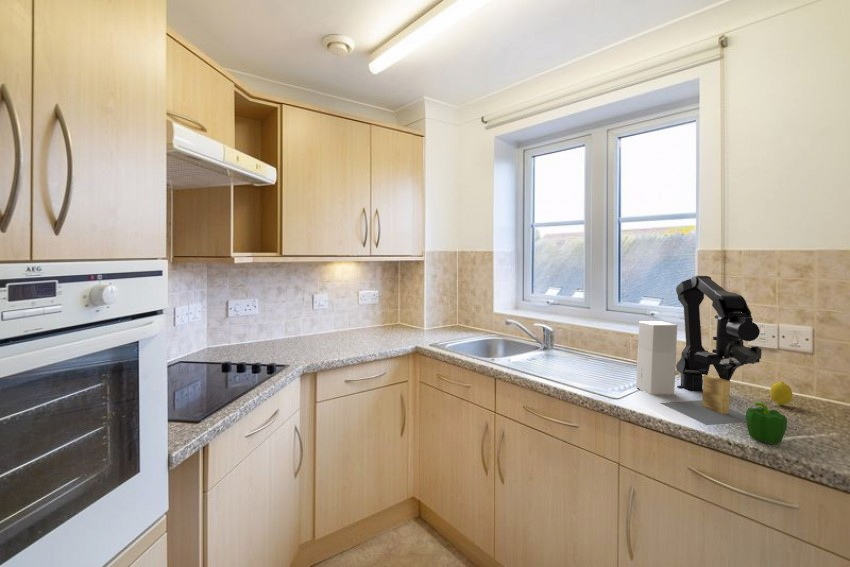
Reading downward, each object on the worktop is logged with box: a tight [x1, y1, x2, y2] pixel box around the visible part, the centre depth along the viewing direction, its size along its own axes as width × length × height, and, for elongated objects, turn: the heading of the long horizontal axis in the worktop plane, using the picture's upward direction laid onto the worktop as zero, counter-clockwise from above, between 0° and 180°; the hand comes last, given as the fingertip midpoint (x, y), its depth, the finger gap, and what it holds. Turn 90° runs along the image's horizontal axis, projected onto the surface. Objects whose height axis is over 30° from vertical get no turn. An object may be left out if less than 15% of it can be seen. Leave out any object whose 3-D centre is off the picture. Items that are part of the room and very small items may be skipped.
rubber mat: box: [660, 399, 746, 426], centre depth 127 cm, size 18×18×1 cm
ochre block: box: [702, 374, 731, 414], centre depth 129 cm, size 7×2×10 cm, turn 10°
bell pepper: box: [745, 401, 788, 445], centre depth 108 cm, size 8×8×10 cm
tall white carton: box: [635, 320, 678, 395], centre depth 147 cm, size 9×9×25 cm
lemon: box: [769, 381, 793, 406], centre depth 135 cm, size 6×6×8 cm
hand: (725, 384), depth 129 cm, fingers closed
